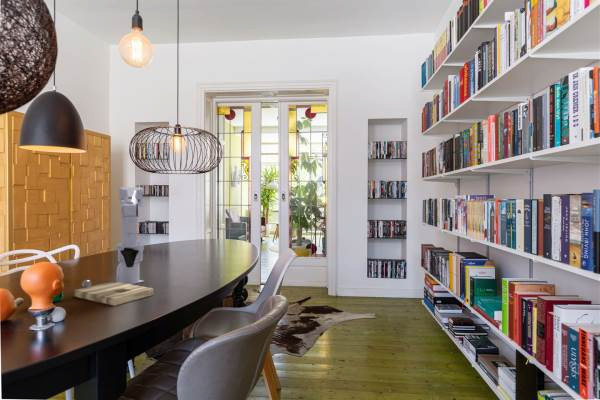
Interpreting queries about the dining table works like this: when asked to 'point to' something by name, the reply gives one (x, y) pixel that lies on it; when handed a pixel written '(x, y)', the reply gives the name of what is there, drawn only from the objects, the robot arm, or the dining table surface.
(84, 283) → the steel ball
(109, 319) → the dining table surface
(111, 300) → the birch board
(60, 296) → the soda can
